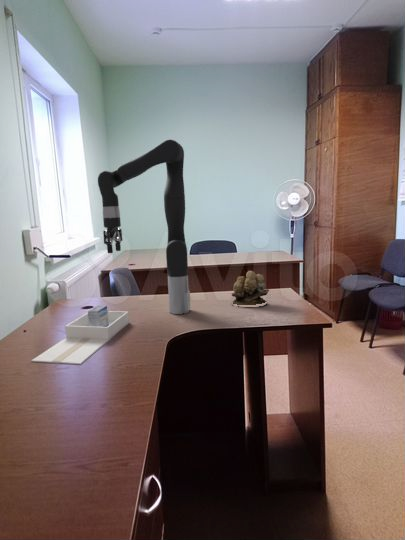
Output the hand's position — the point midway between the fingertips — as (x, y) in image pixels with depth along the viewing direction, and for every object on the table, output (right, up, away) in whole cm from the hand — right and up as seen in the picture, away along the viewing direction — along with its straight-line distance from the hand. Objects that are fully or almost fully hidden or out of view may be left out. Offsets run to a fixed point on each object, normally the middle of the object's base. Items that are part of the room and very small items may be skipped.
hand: (114, 251), depth 155 cm
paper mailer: (-2, -34, -31) cm, 46 cm away
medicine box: (0, -32, -22) cm, 39 cm away
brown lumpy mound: (+64, -25, +7) cm, 70 cm away
